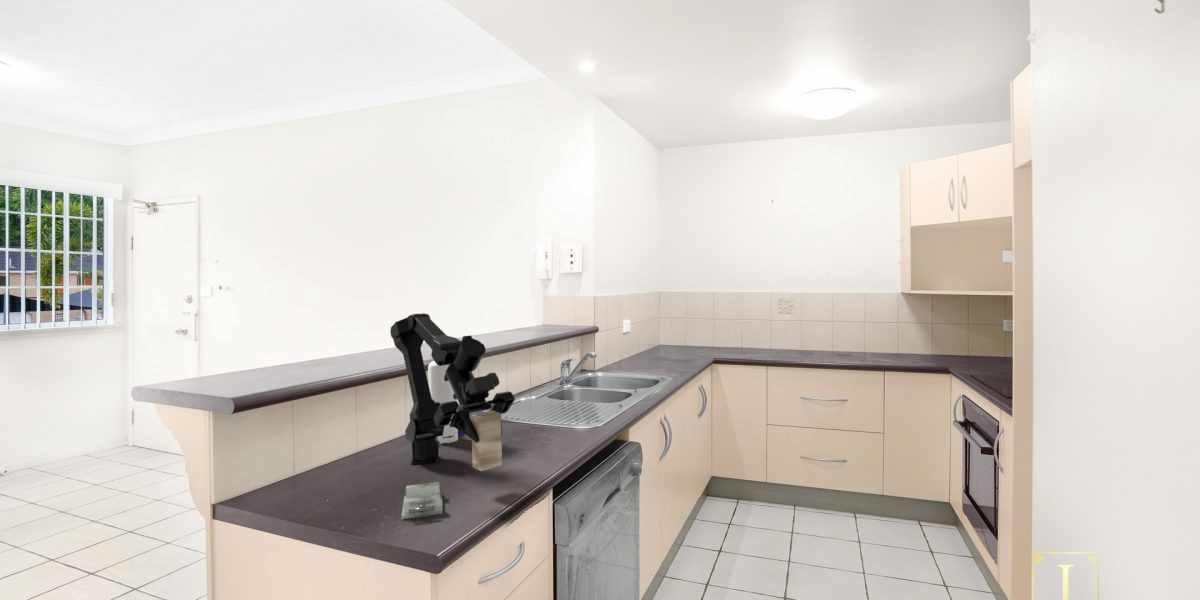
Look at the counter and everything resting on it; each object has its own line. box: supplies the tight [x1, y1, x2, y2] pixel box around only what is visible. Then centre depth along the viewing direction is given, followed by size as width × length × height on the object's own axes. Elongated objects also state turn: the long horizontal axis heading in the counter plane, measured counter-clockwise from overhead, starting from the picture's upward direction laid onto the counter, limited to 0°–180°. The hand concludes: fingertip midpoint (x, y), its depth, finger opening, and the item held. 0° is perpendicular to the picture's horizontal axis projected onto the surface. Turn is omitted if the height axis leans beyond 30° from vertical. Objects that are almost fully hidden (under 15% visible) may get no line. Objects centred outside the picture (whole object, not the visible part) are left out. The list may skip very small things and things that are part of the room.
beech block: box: [470, 411, 503, 472], centre depth 126 cm, size 4×6×12 cm, turn 132°
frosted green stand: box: [401, 481, 444, 520], centre depth 118 cm, size 13×8×3 cm, turn 17°
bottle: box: [427, 360, 459, 445], centre depth 169 cm, size 8×8×28 cm
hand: (489, 438), depth 125 cm, fingers closed on beech block, 5 cm apart
